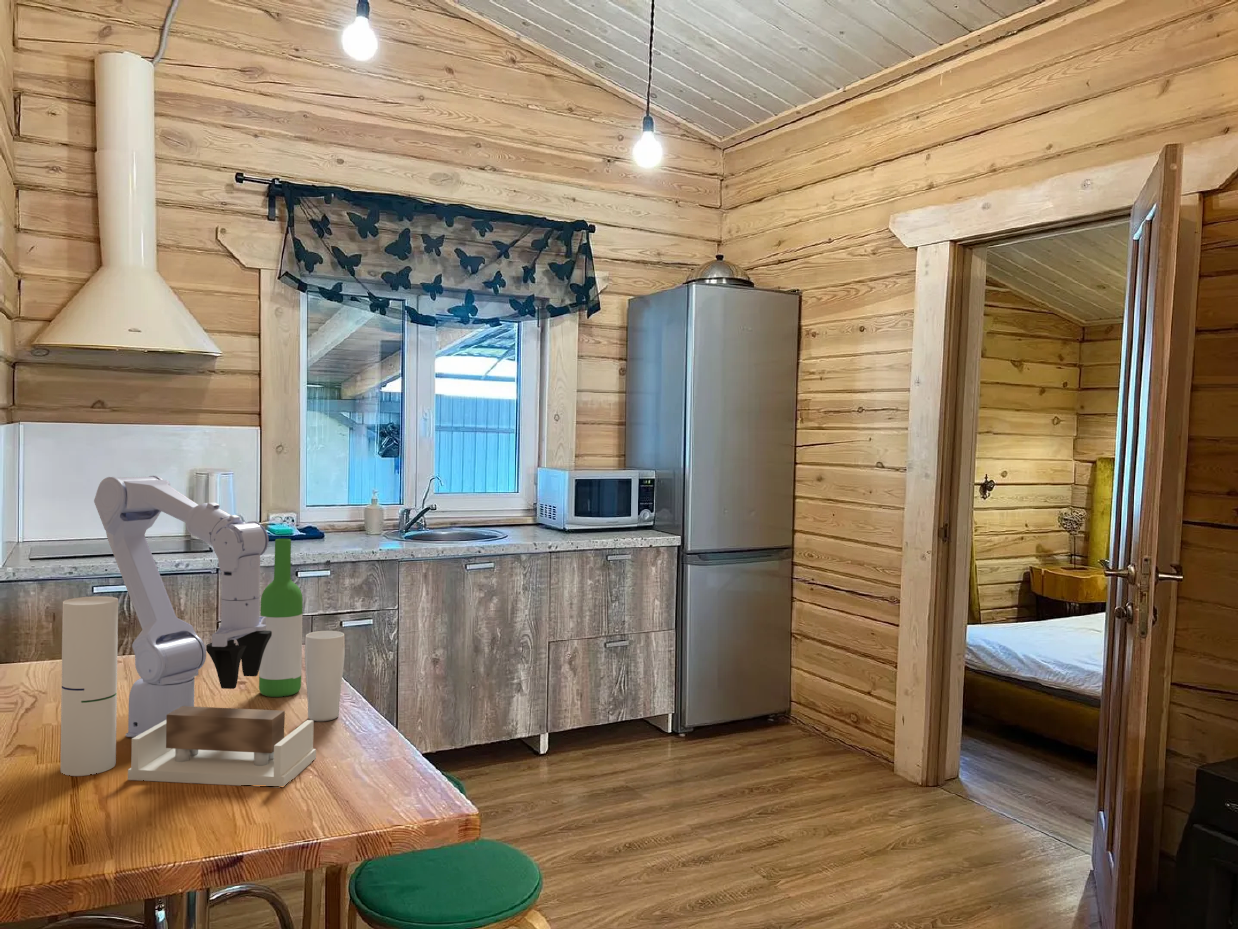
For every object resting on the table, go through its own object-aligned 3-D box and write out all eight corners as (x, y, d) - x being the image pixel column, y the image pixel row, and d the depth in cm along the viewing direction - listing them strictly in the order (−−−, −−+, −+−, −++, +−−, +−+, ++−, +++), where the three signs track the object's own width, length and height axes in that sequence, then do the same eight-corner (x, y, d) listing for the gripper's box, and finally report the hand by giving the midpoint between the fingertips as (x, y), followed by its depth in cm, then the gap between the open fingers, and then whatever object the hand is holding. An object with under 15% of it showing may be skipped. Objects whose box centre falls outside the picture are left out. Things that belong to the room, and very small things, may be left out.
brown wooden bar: (166, 748, 135) (166, 714, 135) (181, 738, 139) (182, 706, 139) (271, 753, 134) (272, 719, 134) (284, 743, 138) (284, 710, 138)
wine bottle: (252, 691, 177) (255, 538, 177) (291, 685, 183) (294, 536, 182) (267, 700, 172) (270, 542, 171) (307, 694, 177) (310, 540, 176)
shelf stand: (127, 779, 131) (128, 738, 131) (172, 751, 143) (173, 713, 143) (283, 787, 130) (284, 746, 130) (315, 758, 142) (316, 720, 142)
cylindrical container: (75, 758, 139) (77, 596, 138) (124, 758, 140) (126, 596, 139) (50, 776, 132) (52, 604, 131) (101, 776, 133) (104, 605, 132)
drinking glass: (331, 725, 158) (332, 639, 158) (295, 721, 160) (297, 637, 159) (350, 714, 165) (351, 631, 165) (316, 710, 166) (317, 629, 166)
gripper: (243, 606, 139) (243, 695, 139) (283, 591, 153) (283, 671, 154) (198, 605, 139) (198, 693, 139) (243, 590, 154) (242, 670, 154)
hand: (239, 681), depth 147 cm, fingers open, 7 cm apart
